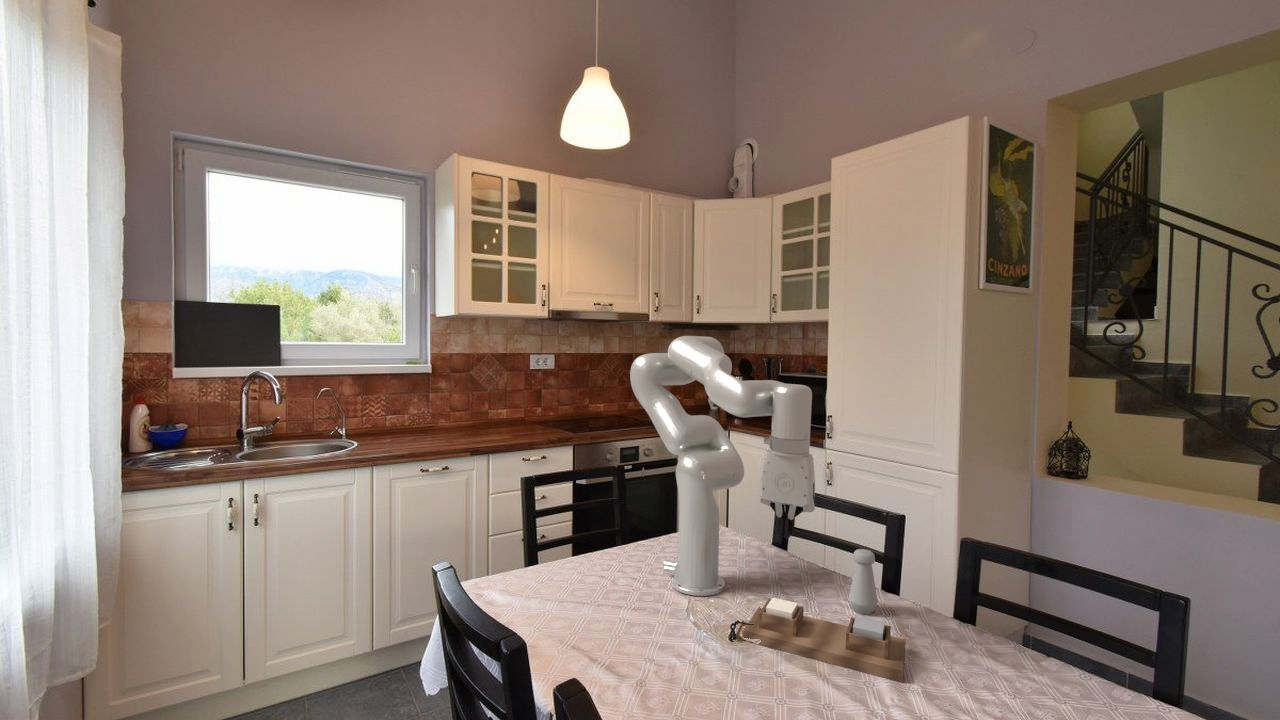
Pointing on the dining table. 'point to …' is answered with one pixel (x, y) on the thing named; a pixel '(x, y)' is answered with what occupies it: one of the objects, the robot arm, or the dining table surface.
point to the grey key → (869, 627)
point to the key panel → (829, 642)
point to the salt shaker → (863, 583)
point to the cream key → (782, 608)
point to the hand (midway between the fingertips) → (785, 536)
